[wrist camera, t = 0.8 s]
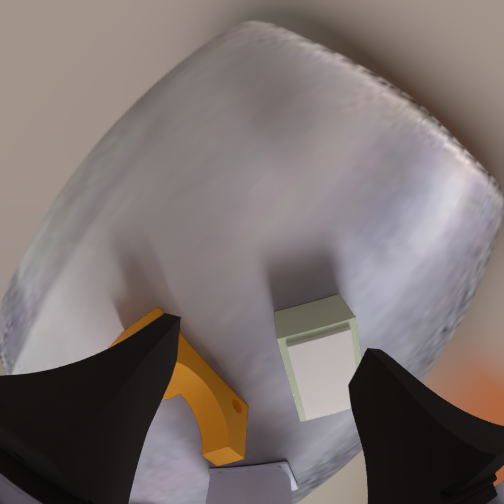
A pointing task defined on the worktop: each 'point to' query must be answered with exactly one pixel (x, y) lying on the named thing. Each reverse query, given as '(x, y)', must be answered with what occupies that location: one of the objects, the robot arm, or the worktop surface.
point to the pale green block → (319, 354)
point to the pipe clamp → (204, 400)
